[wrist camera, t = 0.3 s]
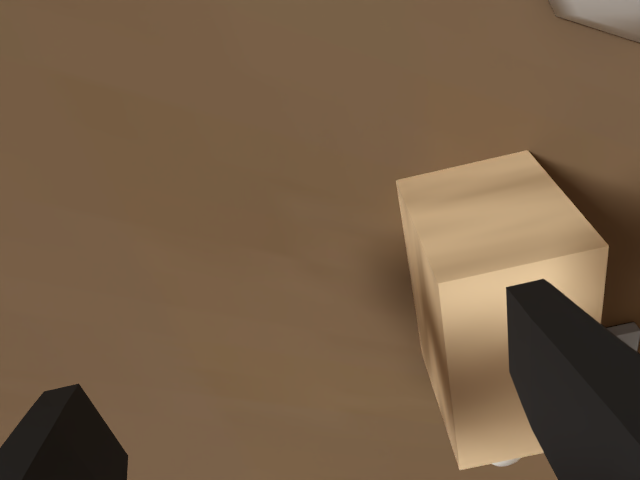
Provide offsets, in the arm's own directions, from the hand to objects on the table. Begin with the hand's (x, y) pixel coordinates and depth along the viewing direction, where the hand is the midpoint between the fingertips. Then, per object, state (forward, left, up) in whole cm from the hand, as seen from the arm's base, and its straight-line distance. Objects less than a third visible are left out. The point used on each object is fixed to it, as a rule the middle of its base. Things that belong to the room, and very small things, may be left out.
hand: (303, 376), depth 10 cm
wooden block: (-7, -6, -10) cm, 13 cm away
